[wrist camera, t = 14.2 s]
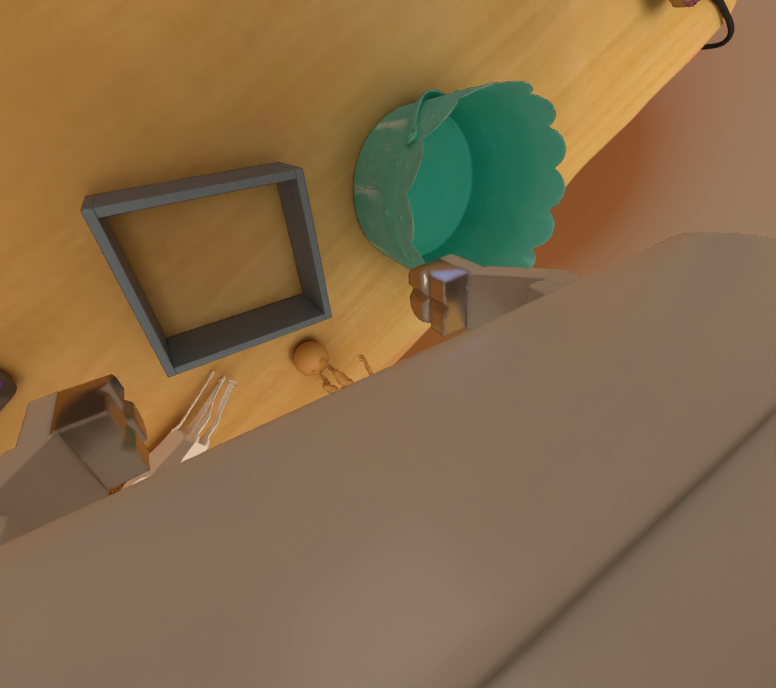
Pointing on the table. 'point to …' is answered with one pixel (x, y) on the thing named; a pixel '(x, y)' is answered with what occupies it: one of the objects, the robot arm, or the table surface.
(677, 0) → the cupcake
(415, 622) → the robot arm
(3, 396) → the toy race car
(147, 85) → the table surface
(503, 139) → the basket
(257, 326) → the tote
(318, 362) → the figurine
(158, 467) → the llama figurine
